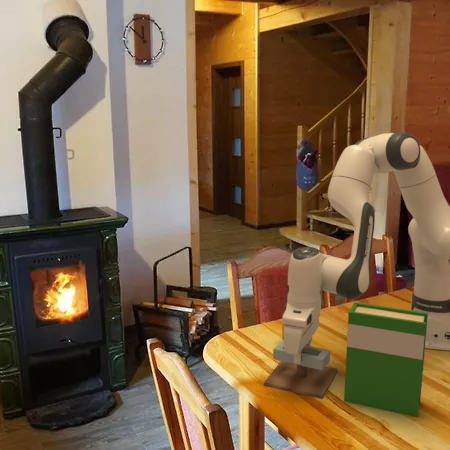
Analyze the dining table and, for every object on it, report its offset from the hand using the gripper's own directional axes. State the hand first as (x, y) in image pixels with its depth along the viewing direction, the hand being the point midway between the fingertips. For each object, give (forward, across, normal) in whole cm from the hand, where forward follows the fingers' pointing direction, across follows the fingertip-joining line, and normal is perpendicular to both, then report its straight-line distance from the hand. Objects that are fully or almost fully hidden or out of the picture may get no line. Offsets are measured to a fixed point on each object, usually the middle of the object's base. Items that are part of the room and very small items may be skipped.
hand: (302, 356), depth 148 cm
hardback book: (+7, +3, +22) cm, 23 cm away
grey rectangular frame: (+1, 0, 0) cm, 1 cm away
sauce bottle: (+7, -19, -9) cm, 22 cm away
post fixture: (+6, 0, 0) cm, 6 cm away
